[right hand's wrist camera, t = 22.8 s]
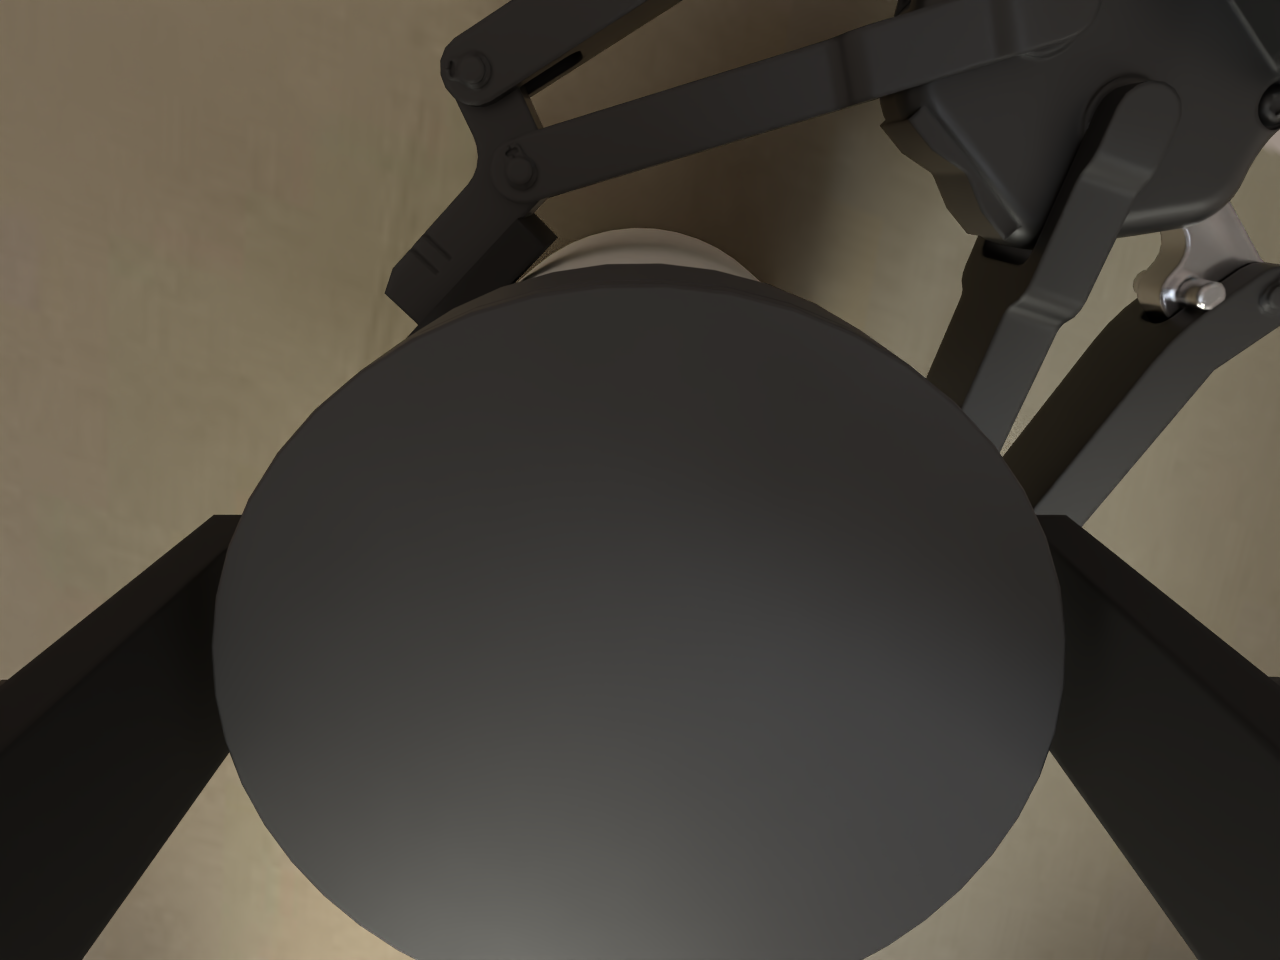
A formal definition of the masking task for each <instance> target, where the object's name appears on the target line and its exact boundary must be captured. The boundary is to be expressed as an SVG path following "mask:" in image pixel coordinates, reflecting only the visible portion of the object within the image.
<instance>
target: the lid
mask: <svg viewBox="0 0 1280 960" xmlns="http://www.w3.org/2000/svg"><path fill="white" fill-rule="evenodd" d="M1065 656H1066V631H1065V622H1064V614H1063V605H1062V597H1061V588H1060V584H1059V580H1058V577H1057V573H1056V570H1055V566H1054V563H1053V559H1052V556H1051V552H1050V549H1049V545H1048V541H1047V538H1046V536H1045V534H1044V531H1043V529H1042V527H1041V525H1040V523H1039V521H1038V518H1037V516H1036V514H1035V512H1034V510H1033V508H1032V506H1031V503H1030V501H1029V499H1028V497H1027V495H1026V493H1025V490H1024V489H1023V487H1022V486H1021V484H1020V483H1019V481H1018V480H1017V478H1016V477H1015V475H1014V474H1013V472H1012V471H1011V469H1010V468H1009V466H1008V465H1007V463H1006V462H1005V460H1004V459H1003V457H1002V456H1001V454H1000V453H999V451H998V450H997V448H996V447H995V445H994V444H993V443H992V442H991V441H990V440H989V439H988V437H987V436H986V435H985V434H984V433H983V432H982V431H981V430H980V429H979V428H978V427H977V425H976V424H975V423H974V422H973V421H972V420H971V419H970V418H969V417H968V416H967V415H966V414H965V412H964V411H963V410H962V409H961V408H960V407H959V406H958V405H957V404H956V403H955V402H954V401H953V400H952V399H951V398H949V397H948V396H947V395H946V394H944V393H943V392H942V391H941V390H939V389H938V388H937V387H936V386H935V385H933V384H932V383H931V382H930V381H928V380H927V379H926V378H925V377H923V376H922V375H921V374H920V373H918V372H917V371H916V370H915V369H913V368H912V367H911V366H910V365H908V364H907V363H906V362H904V361H903V360H901V359H900V358H898V357H897V356H896V355H894V354H893V353H892V352H890V351H889V350H887V349H886V348H884V347H883V346H882V345H880V344H879V343H877V342H876V341H875V340H873V339H872V338H870V337H869V336H868V335H866V334H865V333H863V332H862V331H860V330H859V329H857V328H855V327H854V326H852V325H850V324H849V323H847V322H845V321H844V320H842V319H840V318H839V317H837V316H835V315H834V314H832V313H830V312H828V311H827V310H825V309H823V308H822V307H820V306H818V305H817V304H815V303H812V302H810V301H807V300H805V299H803V298H800V297H798V296H795V295H793V294H791V293H788V292H786V291H783V290H781V289H779V288H776V287H774V286H771V285H769V284H766V283H763V282H759V281H755V280H751V279H747V278H744V277H740V276H736V275H732V274H728V273H725V272H721V271H717V270H711V269H703V268H695V267H687V266H678V265H670V264H662V263H652V264H604V265H597V266H590V267H584V268H577V269H570V270H563V271H557V272H551V273H548V274H545V275H541V276H538V277H534V278H531V279H527V280H524V281H521V282H517V283H514V284H510V285H507V286H503V287H500V288H498V289H496V290H494V291H492V292H489V293H487V294H485V295H483V296H480V297H478V298H476V299H474V300H471V301H469V302H467V303H465V304H463V305H460V306H458V307H456V308H454V309H452V310H450V311H449V312H447V313H446V314H444V315H442V316H441V317H439V318H438V319H436V320H435V321H433V322H431V323H430V324H428V325H427V326H425V327H423V328H422V329H420V330H419V331H417V332H415V333H414V334H412V335H411V336H409V337H408V338H406V339H405V340H404V341H402V342H401V343H399V344H398V345H396V346H395V347H394V348H392V349H391V350H389V351H388V352H386V353H385V354H384V355H382V356H381V357H379V358H378V359H376V360H375V361H374V362H372V363H371V364H370V365H368V366H367V367H365V368H364V369H362V370H361V371H360V372H358V373H357V374H356V375H355V376H354V377H353V378H351V379H350V380H349V381H348V382H347V383H346V384H344V385H343V386H342V387H341V388H340V389H338V390H337V391H336V392H335V393H334V394H333V395H331V396H330V397H329V398H328V399H327V400H326V401H324V402H323V403H322V404H321V405H320V406H319V407H317V408H316V409H315V410H314V411H313V412H312V414H311V415H310V416H309V417H308V418H307V419H306V421H305V422H304V423H303V424H302V425H301V426H300V427H299V429H298V430H297V431H296V432H295V433H294V434H293V436H292V437H291V438H290V439H289V440H288V441H287V442H286V444H285V445H284V446H283V447H282V448H281V449H280V451H279V452H278V453H277V455H276V456H275V458H274V459H273V461H272V463H271V464H270V466H269V467H268V469H267V470H266V472H265V474H264V475H263V477H262V478H261V480H260V482H259V483H258V485H257V486H256V488H255V490H254V491H253V493H252V494H251V496H250V498H249V499H248V502H247V504H246V506H245V509H244V511H243V513H242V516H241V518H240V520H239V523H238V525H237V527H236V530H235V532H234V535H233V537H232V539H231V542H230V544H229V546H228V550H227V554H226V558H225V562H224V566H223V570H222V574H221V578H220V582H219V586H218V590H217V594H216V600H215V612H214V623H213V635H212V661H213V676H214V690H215V698H216V702H217V707H218V711H219V715H220V720H221V724H222V729H223V733H224V738H225V742H226V744H227V747H228V749H229V752H230V755H231V757H232V760H233V762H234V765H235V768H236V770H237V773H238V775H239V778H240V781H241V783H242V785H243V787H244V789H245V791H246V793H247V794H248V796H249V798H250V800H251V802H252V803H253V805H254V807H255V809H256V811H257V812H258V814H259V816H260V818H261V820H262V821H263V823H264V825H265V826H266V828H267V829H268V830H269V832H270V833H271V834H272V836H273V837H274V839H275V840H276V841H277V843H278V844H279V845H280V847H281V848H282V849H283V851H284V852H285V853H286V855H287V856H288V857H289V859H290V860H291V862H292V863H293V864H294V865H295V866H296V867H297V868H298V869H299V870H300V871H301V872H302V873H303V874H304V875H305V876H306V877H307V878H308V879H309V881H310V882H311V883H312V884H313V885H314V886H315V887H316V888H317V889H318V890H319V891H320V892H321V893H322V894H323V895H324V896H325V897H326V898H327V899H329V900H330V901H331V902H332V903H333V904H335V905H336V906H337V907H338V908H339V909H341V910H342V911H343V912H344V913H345V914H347V915H348V916H349V917H350V918H351V919H353V920H354V921H355V922H356V923H358V924H359V925H360V926H362V927H363V928H365V929H366V930H368V931H369V932H371V933H372V934H374V935H375V936H377V937H378V938H380V939H381V940H383V941H384V942H386V943H387V944H389V945H391V946H392V947H394V948H395V949H397V950H398V951H400V952H402V953H404V954H406V955H408V956H410V957H412V958H414V959H416V960H863V959H864V958H866V957H868V956H870V955H872V954H874V953H876V952H877V951H879V950H881V949H883V948H885V947H887V946H888V945H890V944H891V943H893V942H894V941H896V940H897V939H899V938H900V937H901V936H903V935H904V934H906V933H907V932H909V931H910V930H912V929H913V928H914V927H916V926H917V925H919V924H920V923H922V922H923V921H925V920H926V919H927V918H928V917H930V916H931V915H932V914H933V913H934V912H935V911H936V910H938V909H939V908H940V907H941V906H942V905H943V904H945V903H946V902H947V901H948V900H949V899H950V898H951V897H953V896H954V895H955V894H956V893H957V892H958V891H959V890H961V889H962V888H963V886H964V885H965V884H966V883H967V882H968V881H969V880H970V879H971V878H972V876H973V875H974V874H975V873H976V872H977V871H978V870H979V869H980V868H981V867H982V865H983V864H984V863H985V862H986V861H987V860H988V859H989V858H990V857H991V856H992V854H993V853H994V851H995V850H996V849H997V847H998V846H999V844H1000V843H1001V841H1002V840H1003V839H1004V837H1005V836H1006V834H1007V833H1008V831H1009V830H1010V829H1011V827H1012V826H1013V824H1014V823H1015V821H1016V820H1017V819H1018V817H1019V815H1020V813H1021V811H1022V809H1023V808H1024V806H1025V804H1026V802H1027V800H1028V798H1029V796H1030V794H1031V792H1032V790H1033V788H1034V786H1035V784H1036V782H1037V781H1038V779H1039V777H1040V774H1041V771H1042V768H1043V766H1044V763H1045V760H1046V757H1047V754H1048V751H1049V749H1050V746H1051V743H1052V740H1053V737H1054V734H1055V731H1056V726H1057V721H1058V716H1059V711H1060V705H1061V700H1062V695H1063V690H1064V682H1065Z"/></svg>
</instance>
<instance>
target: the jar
mask: <svg viewBox="0 0 1280 960" xmlns="http://www.w3.org/2000/svg"><path fill="white" fill-rule="evenodd" d="M652 263H662V264H670V265H678V266H687V267H695V268H703V269H711V270H717V271H721V272H725V273H728V274H732V275H736V276H740V277H744V278H747V279H751V280H755V281H759V280H758V279H757V278H756V277H755V276H753V275H752V274H751V273H750V272H749V271H748V270H747V269H745V268H744V267H743V266H742V265H741V264H740V263H738V262H737V261H736V260H735V259H733V258H732V257H730V256H729V255H727V254H726V253H724V252H723V251H721V250H720V249H718V248H716V247H714V246H712V245H710V244H708V243H706V242H703V241H701V240H699V239H697V238H694V237H690V236H687V235H684V234H681V233H678V232H673V231H667V230H661V229H652V228H628V229H619V230H611V231H607V232H603V233H599V234H595V235H591V236H588V237H585V238H583V239H580V240H578V241H576V242H573V243H571V244H569V245H567V246H565V247H563V248H562V249H560V250H558V251H556V252H555V253H553V254H551V255H550V256H549V257H547V258H546V259H545V260H543V261H542V262H541V263H539V264H538V265H537V266H536V267H534V268H533V269H532V270H531V271H530V272H529V273H527V274H526V275H525V276H524V277H523V278H522V279H521V280H519V281H518V282H521V281H524V280H527V279H531V278H534V277H538V276H541V275H545V274H548V273H551V272H557V271H563V270H570V269H577V268H584V267H590V266H597V265H604V264H652ZM759 282H760V281H759Z"/></svg>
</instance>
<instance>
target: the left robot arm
mask: <svg viewBox="0 0 1280 960" xmlns="http://www.w3.org/2000/svg"><path fill="white" fill-rule="evenodd" d="M680 1H682V0H511V1H510V2H508V3H507V4H505V5H504V6H502V7H501V8H499V9H498V10H496V11H495V12H493V13H492V14H490V15H489V16H487V17H486V18H484V19H483V20H481V21H480V22H478V23H477V24H475V25H474V26H472V27H471V28H469V29H468V30H466V31H465V32H463V33H461V34H460V35H458V36H457V37H455V38H454V39H453V40H452V41H451V42H450V43H449V44H448V45H447V46H446V47H445V50H444V52H443V55H442V58H441V60H440V63H441V77H442V80H443V82H444V85H445V88H446V89H447V90H448V91H449V92H450V94H451V95H452V96H453V97H454V98H455V99H456V101H457V103H458V105H459V108H460V110H461V112H462V114H463V116H464V118H465V120H466V122H467V124H468V126H469V128H470V130H471V132H472V134H473V137H474V140H475V142H476V145H477V153H478V161H477V168H476V170H475V173H474V176H473V178H472V179H471V181H470V182H469V184H468V185H467V186H466V187H465V188H464V189H463V191H462V192H461V193H460V194H459V195H458V196H457V197H456V198H455V200H454V201H453V202H452V203H451V204H450V205H449V206H448V207H447V208H446V210H445V211H444V212H443V213H442V214H441V215H440V216H439V217H438V219H437V220H436V221H435V222H434V223H433V224H432V225H431V226H430V228H429V229H428V230H427V231H426V232H425V234H424V235H422V237H421V238H420V239H419V240H418V241H417V242H416V243H415V244H414V245H413V247H412V248H411V249H410V250H409V251H408V252H407V253H406V254H405V256H404V257H403V258H402V259H401V260H400V261H399V262H398V263H397V265H396V266H395V267H394V268H393V269H392V272H391V275H390V278H389V281H388V285H387V288H386V291H385V294H386V295H387V296H388V297H389V298H390V299H391V300H392V301H393V302H395V303H396V304H397V305H398V306H399V307H400V308H401V309H402V310H403V311H404V312H405V313H406V314H407V315H408V316H409V317H411V318H412V319H413V320H414V321H415V322H416V323H417V324H418V326H417V327H416V328H415V329H414V330H413V332H412V333H411V334H410V335H409V336H411V335H412V334H414V333H415V332H417V331H419V330H420V329H422V328H423V327H425V326H427V325H428V324H430V323H431V322H433V321H435V320H436V319H438V318H439V317H441V316H442V315H444V314H446V313H447V312H449V311H450V310H452V309H454V308H456V307H458V306H460V305H463V304H465V303H467V302H469V301H471V300H474V299H476V298H478V297H480V296H483V295H485V294H487V293H489V292H492V291H494V290H496V289H498V288H500V287H503V286H507V285H510V284H514V283H515V282H516V281H517V280H518V279H519V278H520V277H521V276H522V275H523V274H524V273H525V272H526V270H527V269H528V268H529V267H530V266H531V265H532V264H533V263H534V262H535V261H536V260H537V259H538V258H539V257H540V256H541V255H542V254H543V253H544V252H545V250H546V249H547V248H548V247H549V246H550V245H551V244H552V243H553V242H554V241H555V240H556V239H557V238H558V237H557V236H556V235H555V234H554V233H553V232H552V231H551V230H550V229H549V228H548V227H547V226H546V225H545V224H544V223H543V222H542V221H541V220H540V219H539V218H538V217H537V216H536V214H535V213H534V212H535V211H536V210H537V209H538V208H539V207H540V206H541V204H542V203H543V202H544V201H545V200H546V199H547V198H550V197H553V196H556V195H559V194H563V193H566V192H569V191H573V190H576V189H579V188H583V187H586V186H589V185H593V184H596V183H599V182H603V181H606V180H609V179H613V178H616V177H619V176H622V175H626V174H629V173H632V172H636V171H639V170H642V169H646V168H649V167H652V166H656V165H659V164H662V163H666V162H669V161H672V160H676V159H679V158H682V157H685V156H689V155H692V154H695V153H699V152H702V151H705V150H709V149H712V148H715V147H719V146H722V145H725V144H729V143H732V142H735V141H739V140H742V139H745V138H748V137H752V136H755V135H758V134H762V133H765V132H768V131H772V130H775V129H778V128H782V127H785V126H788V125H792V124H795V123H798V122H802V121H805V120H808V119H811V118H815V117H818V116H822V115H825V114H828V113H832V112H835V111H838V110H842V109H845V108H848V107H852V106H855V105H858V104H862V103H865V102H868V101H872V100H875V99H878V98H880V104H881V108H882V112H883V115H884V117H885V121H884V122H883V123H882V124H881V125H880V127H881V128H882V129H883V130H884V131H885V133H886V134H887V135H888V136H889V138H890V139H891V140H892V141H893V143H894V144H895V145H896V146H897V147H898V149H899V150H900V151H901V152H902V153H903V154H904V155H906V156H907V157H909V158H910V159H912V160H913V161H915V162H916V163H918V164H919V165H921V166H922V167H923V168H925V169H926V170H928V171H929V172H931V173H932V175H933V177H934V179H935V181H936V184H937V186H938V189H939V191H940V193H941V196H942V198H943V201H944V203H945V205H946V208H947V209H948V210H949V212H950V213H951V214H952V215H953V216H954V218H955V219H956V220H957V221H958V223H959V224H960V225H961V226H962V228H963V229H964V230H965V231H966V233H967V234H973V235H978V238H977V240H976V242H975V245H974V247H973V249H972V252H971V254H970V256H969V259H968V261H967V263H966V266H965V269H964V272H963V276H962V288H963V290H962V295H961V298H960V301H959V303H958V305H957V308H956V310H955V312H954V315H953V317H952V319H951V322H950V324H949V326H948V329H947V331H946V333H945V336H944V338H943V340H942V343H941V345H940V347H939V350H938V352H937V354H936V357H935V359H934V361H933V364H932V366H931V368H930V371H929V373H928V375H927V378H926V379H927V380H928V381H930V382H931V383H932V384H933V385H935V386H936V387H937V388H938V389H939V390H941V391H942V392H943V393H944V394H946V395H947V396H948V397H949V398H951V399H952V400H953V401H954V402H955V403H956V404H957V405H958V406H959V407H960V408H961V409H962V410H963V411H964V412H965V414H966V415H967V416H968V417H969V418H970V419H971V420H972V421H973V422H974V423H975V424H976V425H977V427H978V428H979V429H980V430H981V431H982V432H983V433H984V434H985V435H986V436H987V437H988V439H989V440H990V441H991V442H992V443H993V444H994V445H995V447H996V448H997V450H998V451H999V453H1000V451H1001V449H1002V446H1003V444H1004V442H1005V440H1006V438H1007V436H1008V434H1009V432H1010V430H1011V428H1012V426H1013V423H1014V421H1015V419H1016V417H1017V415H1018V413H1019V411H1020V409H1021V407H1022V405H1023V402H1024V400H1025V398H1026V396H1027V394H1028V392H1029V390H1030V388H1031V386H1032V384H1033V381H1034V379H1035V377H1036V375H1037V373H1038V371H1039V369H1040V367H1041V365H1042V363H1043V360H1044V358H1045V356H1046V354H1047V352H1048V350H1049V348H1050V346H1051V344H1052V342H1053V340H1054V337H1055V335H1056V333H1057V332H1058V330H1059V328H1060V327H1061V326H1062V325H1063V324H1064V323H1065V322H1067V321H1069V320H1070V319H1072V318H1074V317H1075V316H1076V315H1077V314H1078V312H1079V311H1080V310H1081V309H1082V307H1083V305H1084V304H1085V302H1086V300H1087V298H1088V296H1089V294H1090V292H1091V290H1092V288H1093V286H1094V284H1095V282H1096V279H1097V277H1098V275H1099V273H1100V271H1101V269H1102V267H1103V265H1104V263H1105V261H1106V259H1107V257H1108V255H1109V253H1110V250H1111V248H1112V246H1113V244H1114V242H1115V240H1116V238H1121V237H1128V236H1135V235H1141V234H1148V233H1154V232H1160V234H1161V247H1160V251H1159V254H1158V255H1157V257H1156V259H1155V261H1154V262H1153V263H1152V264H1151V265H1150V267H1149V268H1148V269H1147V270H1144V271H1142V272H1140V273H1139V274H1138V275H1137V276H1136V278H1135V279H1134V283H1133V288H1134V291H1135V292H1136V293H1137V299H1136V300H1134V301H1133V302H1132V303H1130V304H1129V305H1128V306H1127V307H1125V308H1124V309H1123V310H1122V311H1121V312H1120V313H1119V314H1118V315H1117V316H1116V317H1115V318H1114V319H1113V320H1112V321H1111V322H1109V323H1108V325H1107V326H1106V327H1105V328H1104V329H1103V330H1102V332H1101V333H1100V334H1099V335H1098V336H1097V337H1096V338H1095V340H1094V341H1093V342H1092V343H1091V345H1090V346H1089V347H1088V349H1087V350H1086V351H1085V352H1084V354H1083V355H1082V356H1081V358H1080V359H1079V360H1078V361H1077V363H1076V364H1075V365H1074V366H1073V368H1072V369H1071V370H1070V372H1069V373H1068V374H1067V375H1066V377H1065V378H1064V379H1063V380H1062V382H1061V383H1060V384H1059V386H1058V387H1057V388H1056V389H1055V391H1054V392H1053V393H1052V395H1051V396H1050V397H1049V398H1048V400H1047V401H1046V402H1045V403H1044V405H1043V406H1042V407H1041V409H1040V410H1039V411H1038V412H1037V414H1036V415H1035V416H1034V418H1033V419H1032V420H1031V421H1030V423H1029V424H1028V425H1027V426H1026V428H1025V429H1024V430H1023V432H1022V433H1021V434H1020V435H1019V437H1018V438H1017V439H1016V441H1015V442H1014V443H1013V444H1012V446H1011V447H1010V448H1009V449H1008V451H1007V452H1006V453H1005V455H1004V456H1003V459H1004V460H1005V462H1006V463H1007V465H1008V466H1009V468H1010V469H1011V471H1012V472H1013V474H1014V475H1015V477H1016V478H1017V480H1018V481H1019V483H1020V484H1021V486H1022V487H1023V489H1024V490H1025V493H1026V495H1027V497H1028V499H1029V501H1030V503H1031V506H1032V508H1033V510H1034V512H1035V514H1036V515H1067V516H1068V517H1069V518H1071V519H1072V520H1073V521H1074V522H1076V523H1077V524H1078V525H1079V526H1081V527H1082V526H1083V525H1084V523H1085V522H1086V521H1087V520H1088V519H1089V518H1090V516H1091V515H1092V514H1093V513H1094V512H1095V510H1096V509H1097V508H1098V507H1099V506H1100V505H1101V503H1102V502H1103V501H1104V500H1105V499H1106V497H1107V496H1108V495H1109V494H1110V493H1111V491H1112V490H1113V489H1114V488H1115V487H1116V486H1117V484H1118V483H1119V482H1120V481H1121V480H1122V478H1123V477H1124V476H1125V475H1126V474H1127V473H1128V471H1129V470H1130V469H1131V468H1132V467H1133V465H1134V464H1135V463H1136V462H1137V461H1138V459H1139V458H1140V457H1141V456H1142V455H1143V454H1144V452H1145V451H1146V450H1147V449H1148V448H1149V446H1150V445H1151V444H1152V443H1153V442H1154V441H1155V439H1156V438H1157V437H1158V436H1159V435H1160V433H1161V432H1162V431H1163V430H1164V429H1165V428H1166V426H1167V425H1168V424H1169V423H1170V422H1171V420H1172V419H1173V418H1174V417H1175V416H1176V414H1177V413H1178V412H1179V411H1180V410H1181V409H1182V407H1183V406H1184V405H1185V404H1186V403H1187V401H1188V400H1189V399H1190V398H1191V397H1192V396H1193V394H1194V393H1195V392H1196V391H1197V390H1198V388H1199V387H1200V386H1201V385H1202V384H1203V382H1204V381H1205V380H1206V379H1207V378H1208V377H1209V375H1210V374H1211V373H1212V372H1213V371H1214V370H1215V369H1217V368H1218V367H1219V366H1221V365H1222V364H1224V363H1225V362H1227V361H1228V360H1230V359H1231V358H1233V357H1234V356H1236V355H1237V354H1239V353H1240V352H1242V351H1243V350H1245V349H1246V348H1248V347H1249V346H1251V345H1252V344H1254V343H1255V342H1256V341H1258V340H1259V339H1261V338H1262V337H1264V336H1265V335H1267V334H1268V333H1270V332H1271V331H1273V330H1274V329H1276V328H1277V327H1279V326H1280V265H1279V264H1272V263H1266V262H1264V261H1263V260H1262V259H1261V258H1260V256H1259V254H1258V252H1257V250H1256V249H1255V247H1254V245H1253V243H1252V241H1251V239H1250V238H1249V236H1248V234H1247V232H1246V230H1245V228H1244V227H1243V225H1242V223H1241V221H1240V219H1239V217H1238V216H1237V214H1236V212H1235V210H1234V208H1233V206H1232V205H1231V203H1230V200H1231V199H1232V198H1233V196H1234V195H1235V194H1236V192H1237V191H1238V189H1239V188H1240V186H1241V184H1242V182H1243V180H1244V178H1245V176H1246V174H1247V172H1248V170H1249V168H1250V166H1251V164H1252V163H1253V161H1254V159H1255V158H1256V156H1257V155H1258V153H1259V152H1260V150H1261V149H1262V148H1263V146H1264V145H1265V144H1266V143H1267V141H1268V140H1269V139H1270V138H1271V137H1272V136H1273V135H1274V134H1275V133H1276V132H1277V131H1278V130H1279V129H1280V0H898V3H897V7H896V11H895V15H894V17H892V18H889V19H886V20H882V21H879V22H876V23H873V24H870V25H866V26H863V27H860V28H857V29H855V30H852V31H849V32H846V33H844V34H842V35H839V36H837V37H834V38H831V39H829V40H826V41H823V42H819V43H816V44H813V45H810V46H807V47H803V48H800V49H797V50H794V51H790V52H787V53H784V54H781V55H777V56H774V57H771V58H768V59H765V60H761V61H758V62H755V63H752V64H748V65H745V66H742V67H739V68H736V69H732V70H729V71H726V72H723V73H719V74H716V75H713V76H710V77H707V78H703V79H700V80H697V81H694V82H690V83H687V84H684V85H681V86H678V87H674V88H671V89H668V90H665V91H661V92H658V93H655V94H652V95H648V96H645V97H642V98H639V99H636V100H632V101H629V102H626V103H623V104H619V105H616V106H613V107H610V108H607V109H603V110H600V111H597V112H594V113H590V114H587V115H584V116H581V117H578V118H574V119H571V120H568V121H565V122H561V123H558V124H555V125H552V126H549V127H545V128H543V126H542V123H541V121H540V119H539V117H538V115H537V112H536V110H535V108H534V106H533V104H532V101H531V99H530V97H531V96H533V95H535V94H536V93H538V92H539V91H541V90H542V89H544V88H546V87H547V86H549V85H550V84H552V83H553V82H555V81H557V80H558V79H560V78H561V77H563V76H564V75H566V74H568V73H569V72H571V71H572V70H574V69H575V68H577V67H579V66H580V65H582V64H583V63H585V62H586V61H588V60H590V59H591V58H593V57H594V56H596V55H597V54H599V53H600V52H602V51H604V50H605V49H607V48H608V47H610V46H611V45H613V44H615V43H616V42H618V41H619V40H621V39H622V38H624V37H626V36H627V35H629V34H630V33H632V32H633V31H635V30H637V29H638V28H640V27H641V26H643V25H644V24H646V23H648V22H649V21H651V20H652V19H654V18H655V17H657V16H659V15H660V14H662V13H663V12H665V11H666V10H668V9H669V8H671V7H673V6H674V5H676V4H677V3H679V2H680ZM409 336H408V337H409ZM408 337H407V338H408Z"/></svg>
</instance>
